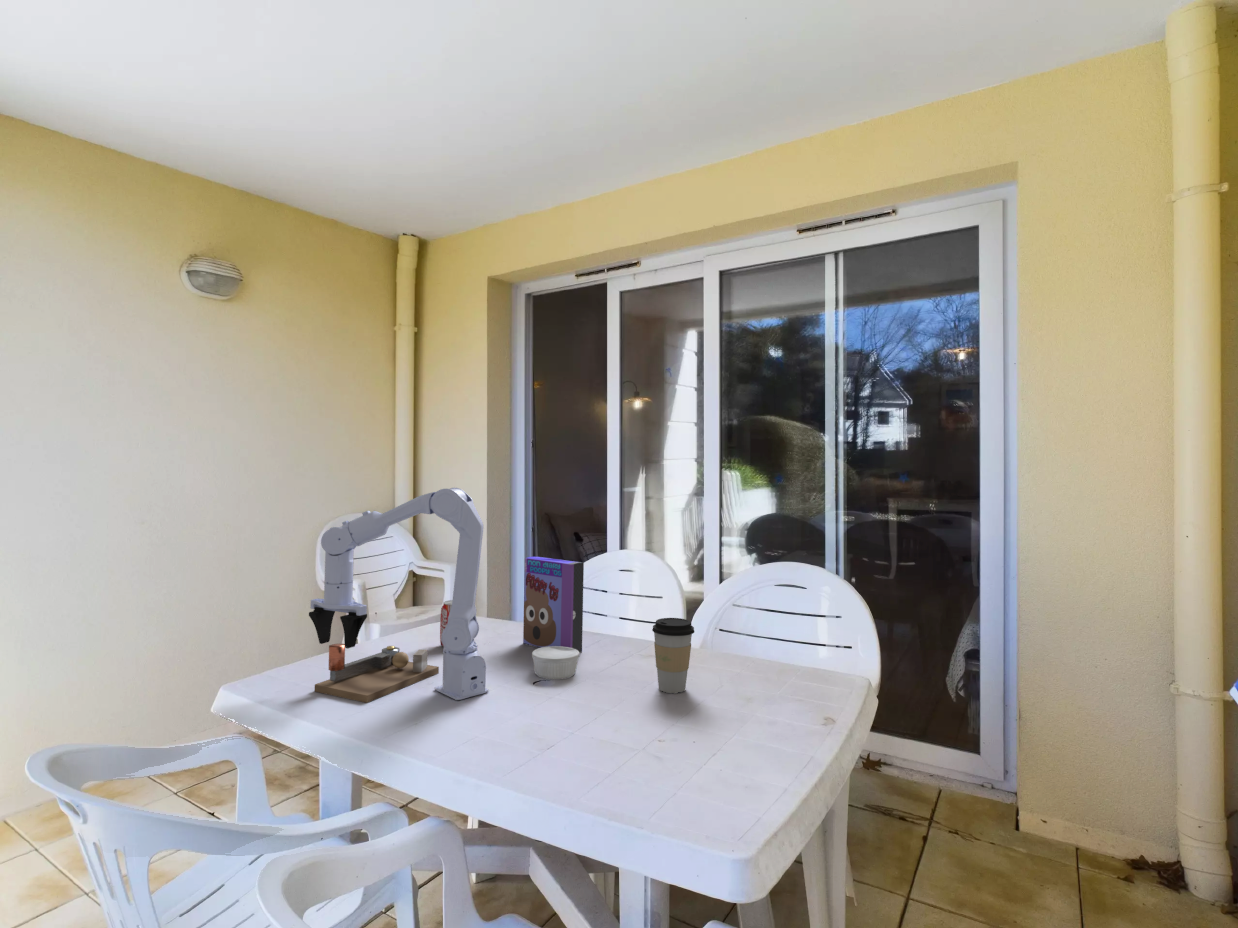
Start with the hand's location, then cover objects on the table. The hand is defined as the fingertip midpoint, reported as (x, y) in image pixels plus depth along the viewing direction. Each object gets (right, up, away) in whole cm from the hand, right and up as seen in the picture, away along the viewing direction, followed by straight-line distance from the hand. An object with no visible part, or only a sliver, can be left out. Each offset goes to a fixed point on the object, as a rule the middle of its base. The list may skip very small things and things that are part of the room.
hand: (337, 644), depth 139 cm
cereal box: (+43, -11, +36) cm, 57 cm away
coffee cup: (+73, -11, +4) cm, 74 cm away
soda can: (+16, -11, +36) cm, 41 cm away
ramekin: (+46, -11, +14) cm, 49 cm away
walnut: (+10, -8, +10) cm, 17 cm away
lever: (+3, -8, +7) cm, 11 cm away
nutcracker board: (+7, -10, +5) cm, 13 cm away
